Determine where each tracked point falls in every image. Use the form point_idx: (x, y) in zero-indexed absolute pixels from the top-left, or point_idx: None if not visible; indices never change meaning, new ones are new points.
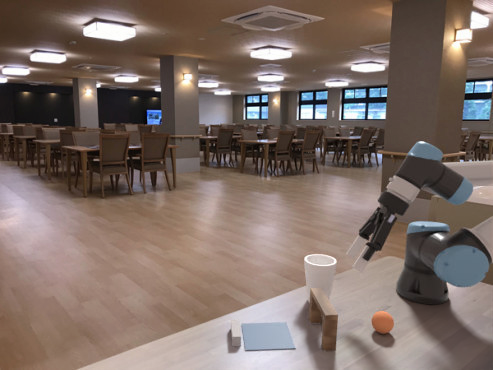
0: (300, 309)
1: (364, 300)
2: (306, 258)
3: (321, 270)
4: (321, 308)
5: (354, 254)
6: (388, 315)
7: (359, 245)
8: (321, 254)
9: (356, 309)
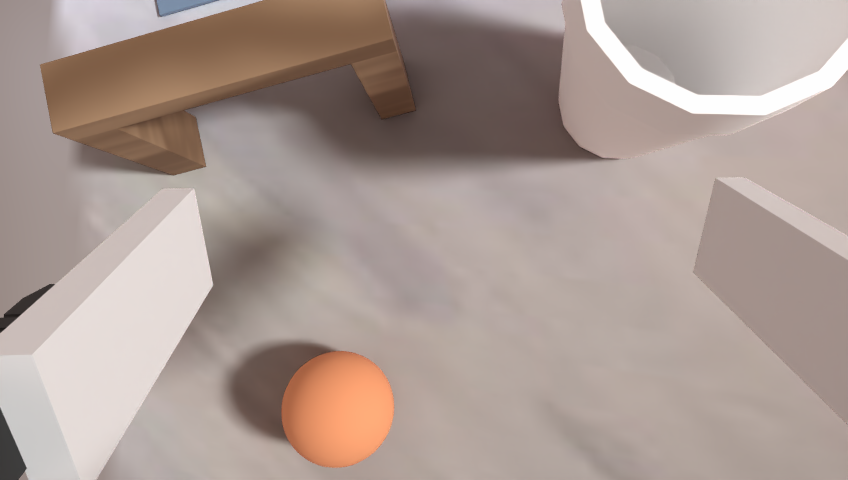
0: (500, 15)
1: (681, 360)
2: None
3: (568, 3)
4: (121, 43)
5: (725, 270)
6: (310, 445)
7: (811, 332)
8: None
9: (558, 301)
